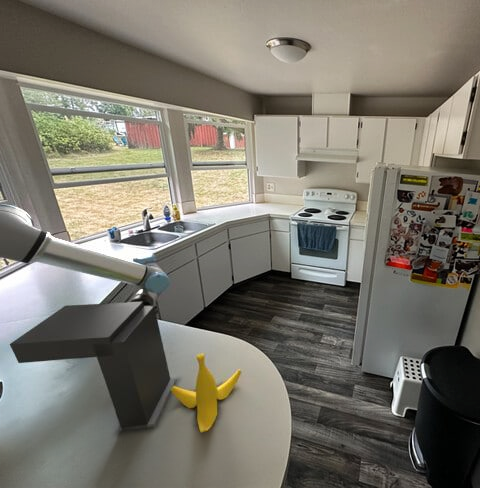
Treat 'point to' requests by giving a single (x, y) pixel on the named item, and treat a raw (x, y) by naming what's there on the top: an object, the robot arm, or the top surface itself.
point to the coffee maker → (109, 354)
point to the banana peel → (205, 394)
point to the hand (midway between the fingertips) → (115, 343)
